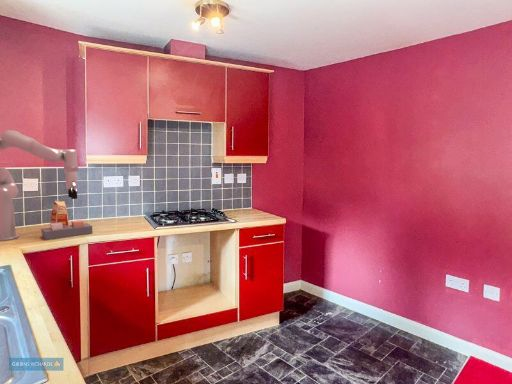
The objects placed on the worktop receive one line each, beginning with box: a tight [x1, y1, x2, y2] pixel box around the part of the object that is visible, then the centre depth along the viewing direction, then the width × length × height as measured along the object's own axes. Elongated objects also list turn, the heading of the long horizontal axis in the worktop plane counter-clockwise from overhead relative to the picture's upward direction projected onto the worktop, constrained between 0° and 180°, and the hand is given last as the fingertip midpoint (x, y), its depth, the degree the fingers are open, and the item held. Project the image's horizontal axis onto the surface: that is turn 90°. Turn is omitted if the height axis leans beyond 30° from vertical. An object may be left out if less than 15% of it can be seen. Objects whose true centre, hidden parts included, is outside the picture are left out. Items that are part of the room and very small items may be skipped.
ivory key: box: [49, 222, 63, 230], centre depth 225 cm, size 6×6×5 cm
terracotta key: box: [71, 219, 85, 227], centre depth 232 cm, size 6×6×5 cm
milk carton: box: [49, 199, 70, 226], centre depth 242 cm, size 9×9×20 cm
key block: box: [41, 222, 93, 241], centre depth 229 cm, size 11×26×5 cm, turn 130°
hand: (72, 197), depth 227 cm, fingers open, 9 cm apart
